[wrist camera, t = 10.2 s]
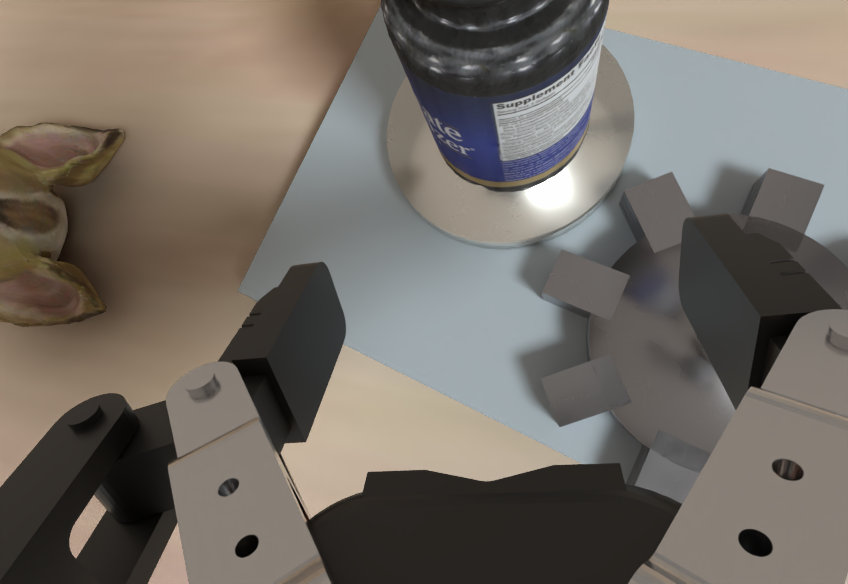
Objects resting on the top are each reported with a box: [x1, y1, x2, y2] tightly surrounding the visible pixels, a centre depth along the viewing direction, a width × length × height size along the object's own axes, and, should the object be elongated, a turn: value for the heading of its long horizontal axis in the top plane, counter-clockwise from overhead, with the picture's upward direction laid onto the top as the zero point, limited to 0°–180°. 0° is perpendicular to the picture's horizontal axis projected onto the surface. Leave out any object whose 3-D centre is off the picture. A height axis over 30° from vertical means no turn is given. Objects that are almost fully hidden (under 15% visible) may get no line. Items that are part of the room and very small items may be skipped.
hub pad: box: [387, 45, 635, 250], centre depth 22 cm, size 10×10×1 cm
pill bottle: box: [381, 0, 609, 192], centre depth 16 cm, size 6×6×11 cm
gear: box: [541, 168, 848, 504], centre depth 18 cm, size 13×13×3 cm
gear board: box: [238, 6, 848, 484], centre depth 22 cm, size 24×17×2 cm
